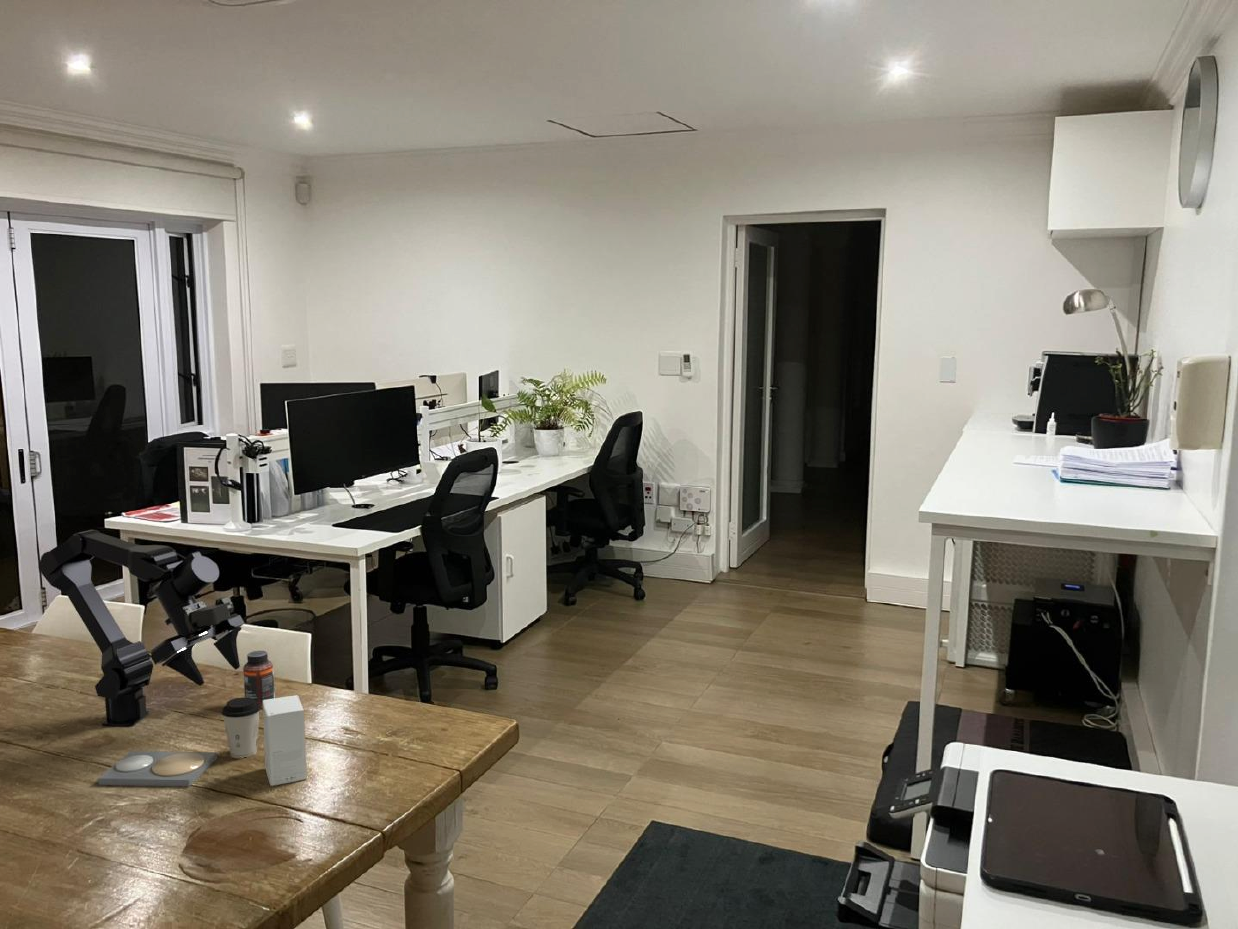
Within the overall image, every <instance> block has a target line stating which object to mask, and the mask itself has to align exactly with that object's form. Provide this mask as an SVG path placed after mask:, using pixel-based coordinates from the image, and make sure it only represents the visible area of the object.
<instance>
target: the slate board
mask: <svg viewBox="0 0 1238 929" xmlns="http://www.w3.org/2000/svg"><path fill="white" fill-rule="evenodd" d="M217 759H218V754H217V752H216V751H214V752H213V751H164V750H163V751H161V750H158V751H157V750H130V751H129V752H128V753H126V755H124V756H123V757H122V758H121V759H119V761H117V762H116V763H115V764H114V765H112V767H110V768H109V769H108V770H106V771H105V772H104V773H103V774H102V775H100V776H99V777H98V785H100V786H132V787H133V786H141V787H142V786H144V787H185V786H188V788H189V787H191V786H192V785H193V783H195V782H196V780H197V779H198V778H199V777H201V775H202V774H203V773H204V772H206V770H208V769H209V767H210V766H211V765H212V764H213V763H214V762H215V761H216V760H217Z"/></svg>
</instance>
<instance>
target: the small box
mask: <svg viewBox="0 0 1238 929" xmlns="http://www.w3.org/2000/svg"><path fill="white" fill-rule="evenodd" d="M262 720H263V723H262V724H263V742H264V768H265V772H266V775H267V776H266V777H267V779H268V783H269V785H270V786H271V787H274V786H278V785H284V784H289V783H294V782H295V783H296V782H298V781H303V780H307V779H308V770H307V751H306V749H307V748H306V726H305V725H306V724H305V709H304V707H303V704H302V702H301V699H300V697H299V695H296V694H295V695H289V696H283V697H282V696H281V697H276V698H274V699H267V700H263V708H262Z"/></svg>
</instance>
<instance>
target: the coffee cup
mask: <svg viewBox="0 0 1238 929" xmlns="http://www.w3.org/2000/svg"><path fill="white" fill-rule="evenodd" d="M261 709H262V708H261V705H260V704H259V703H258V702H256V701H255V700H254V699H253V698H248V697H247V698H245V697H235V698H233V699H230V700H228V701H226V705H225V706H224V707H222V710H221V714H222V717H223V722H224V726H225V733H226V737H227V744H228V748H229V753H230V757H231V758H233V757H234V759H245V758H244V757H247V758H249V756H250V757H252V756H251V755H253V754H254V755H256V754H257V751H258V739H259V727H260V726H259V725H260V711H261ZM254 755H253V756H254Z"/></svg>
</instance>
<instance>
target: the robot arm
mask: <svg viewBox="0 0 1238 929" xmlns="http://www.w3.org/2000/svg"><path fill="white" fill-rule="evenodd" d="M94 558H98V559H101V560H104V561H107V562H110V563H113V564H116V565H120V566H123V567H124V568H127V569H128V571H129V573H130V575H132V576H134V577H135V578H137V579H140V580H141V581H143V582H151V581H154V580H159V579H162V578H163V579H162V580H161V581H156V582H153V583H150V584H149V590H148V591H147V593H146V597H147V599H152V598H154V597H156V598H157V600H158V601H159V603H160V605H161V607H162V608H163V610H164V612H165V614H166V616H167V619H166V620H164V623H165V624H166V626H169V625H170V626H171V625H172V626H173V628H174V630H175V631H176V633H177V634H176V635H175V636H171V637H169V638H166V639H164V640H163V641H161V643H159V644H158V645H156V646H155V647H154V648H153V649H151V653H149V652H148V650H147V649H146V647H145V644H144V643H143V642H142V641H141V640H139V641H135V642H132V641H130V640H129V639H127V638H126V636H125V634H124V633H123V631H122V630H121V628H120V626H119V625H118V623H117V621H116V620H115V618H114V616H113V614H112V613H111V612H110V610H109V609H108V606H107V605H106V603H105V602H104V599H103V598H102V597H101V594H100V593H99V591H98V590H97V589H96V588H97V587H95V585H94V584H93V582H92V569H93V566H92V564H91V560H93V559H94ZM38 569H39V571H40V574H41V575H42V576H43V578H45V580H46V581H47V582H48V584H49V585H50V586H51V587H53V588H55V589H57V590H59V591H61V592H63V593H65V595H66V596H67V597H68V599H69V601H70V602H71V604H72V605H73V606H72V607H74V609H75V611H76V612H77V615H78V616H79V617H80V619H81V620H82V622H83V624H84V625H85V627H86V630H87V631H88V632H89V634H90V636H91V637H92V639H93V640H94V643H95V644H96V645H97V647H98V648H99V650H100V652H101V664H100V669H101V671H102V674H103V676H102V677H101V678H100V679H99V681H97V683H96V684H95V686H94V689H95V692H96V694H97V697H100V698H104V703H105V704H104V707H105V716H106V717H105V720H103V721H102V722H101V725H102V726H126V727H129V726H130V727H132V726H134V725H136V724H138V723H139V722H140V721H141V720H142V719H144V718H145V717H146V716H147V715H149V714H150V712H149V710H147V700H146V698H147V697H146V695H144V690H143V688H144V687H147V686H149V685H150V683H151V682H150V681H151V678H152V674H153V670H154V665H155V666H157V665H159V664H161V666H162V667H167V668H170V669H172V670H174V671H176V672H177V673H179V674H181V675H183V676H184V677H185V678H187V679H189V680H190V681H192V682H193V683H194V684H196V685H197V686H199V687H201V686H202V685H204V684H205V680H204V678H203V675H202V673H201V672H200V670H199V668H198V667H197V665H196V663H195V661H194V659H193V647H192V646H193V645H195V644H198V643H201V642H204V641H206V640H208V639H209V640H210V639H212V640H214V641H215V642H214V643H213V646H214V647H215V648H216V649H217V650H218V651H219V653H220V654H221V655H222V657H223V658H224V659H225V661H227V663H228V664H229V665H230V666H231V667H232V668H233V669H234V670H235V671H236V670H238V669H240V667H241V666H240V665H241V664H240V658H239V653H238V645H237V644H238V643H237V642H238V641H237V640H238V636H239V632H240V631H242V626H244V625H245V621H244V620H243V618H242V616H241V615H240V614H238V613H233V612H234V610H235V608H234V605H233V602H232V601H231V600H230V598H229V597H228V596H225V597H221V598H218V599H215V603H214V604H213V605H209V606H207V605H206V604H205V602H204V601H202V600H200V601H198V602H197V599H196V597H195V596H197V595H198V594H200V593H201V592H202V591H204V590H205V589H206V588H208V587H209V586H210V585H212V584H213V583H214V582H215V581H217V580H218V578H219V577H220V569H219V566H218V564H217V563H216V562H215V561H213V560H212V559H210V558H209V557H207V556H204V555H202V554H201V551H194V552H192V553H190V554H188V555H187V556H183V555H182V554H180V553H178V552H176V550H175V549H174V548H173V547H171V546H169V545H162V544H160V545H159V544H151V545H149V544H148V545H141V544H137V543H134V542H130V541H128V540H124V539H121V538H117V537H115V536H111V535H108V534H105V533H102V532H100V531H99V530H97V529H89V530H85V531H80V532H76V533H74V534H73V535H71V536H70V537H69V538H67V539H66V541H64V542H62V543H60V544H59V545H57V546H55V547H53V548H52V549H50V550H49V551H46V552H44V553H43V554H42V555H41V557H40V560H39V562H38ZM231 613H233V614H231Z"/></svg>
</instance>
